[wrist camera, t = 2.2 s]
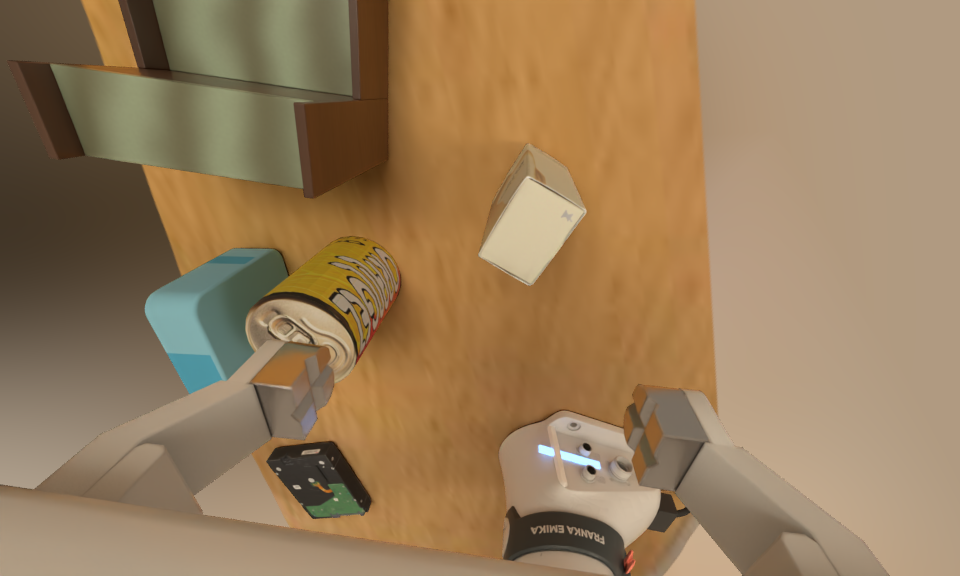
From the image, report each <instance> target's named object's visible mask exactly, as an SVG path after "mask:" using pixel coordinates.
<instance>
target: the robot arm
mask: <svg viewBox="0 0 960 576" xmlns="http://www.w3.org/2000/svg"><path fill="white" fill-rule="evenodd" d="M330 359H331V355H330V351H329V348H327V347H326V346H321V345H314V344H307V343H300V342H293V341H283V340H277V339H271V340H268V341H266V342H265V343H264V344H263V345H262V346H261V347H260V348H259V349H258V350H257V351H256V352H255V353H254V354H253V355H252V356H251V357H250V358H249V359H248V360H247V361H246V362H245V363H244V364H243V365H242V366H241V367H240V368H239V369H238V370H237V371H236V372H235V373H234V374H233V375H232V376H231V377H230V378H229V379H228V380H227V381H222V380H220V381H218V382H216V383H214V384H211V385H209V386H207V387H205V388H202V389H200V390H198V391H196V392H193V393H191V394H189V395H187V396H185V397H182V398H180V399H178V400H176V401H173V402H171V403H169V404H167V405H164V406H162V407H160V408H158V409H156V410H153V411H151V412H149V413H147V414H144V415H142V416H140V417H138V418H136V419H133V420H131V421H129V422H127V423H124V424H122V425H120V426H118V427H116V428H113V429H111V430H109V431H106V432H104V433H102V434H100V435H99V436H97V437H96V438H95V439H94V440H93V441H91V442H90V443H89V444H88V445H87V446H85V447H84V448H83V449H82V450H81V451H79V452H78V453H77V454H76V455H75V456H73V457H72V458H71V459H70V460H69V461H67V462H66V463H65V464H64V465H63V466H61V467H60V468H59V469H58V470H57V471H55V472H54V473H53V474H52V475H51V476H49V477H48V478H47V479H46V480H45V481H43V482H42V483H41V484H40V485H39V486H37V488H35V489H27V488H20V487H13V486H7V485H0V576H631V574H630V571H631V569H632V568H633V566H634V564H635V560H633V551H632V550H630V551H629V553H628V554H627V555H626V551H625V548H626V547H627V546H628V545H630V544H631V543H632V542H633V541H634V540H635V539H637V538H638V537H639V536H640V535H641V534H642V533H644V532H645V530H646V529H649V530H654V531H659V532H665V531H666V530H667V529H668V527H669V526H670V525H671V523H672V522H673V521H674V520H675V518H676V517H681V516H685V515H687V514H689V513H690V512H691V513H692V515H693V516H694V517H695V518H696V519H697V521H698V522H699V523H700V524H701V525H702V527H703V528H704V529H705V530H706V531H707V533H708V534H709V535H710V536H711V537H712V539H713V540H714V541H715V542H716V543H717V545H718V546H719V547H720V548H721V549H722V551H723V552H724V553H725V554H726V555H727V557H728V558H729V559H730V560H731V561H732V563H733V564H734V565H735V566H736V567H737V569H738V570H739V571H740V572H741V574H742V576H889V574H888V573H887V572H886V570H885V569H884V568H883V566H882V565H881V564H880V562H879V561H878V560H877V558H876V557H875V555H874V554H873V553H872V551H871V550H870V549H869V547H868V546H867V545H866V543H865V542H864V541H863V540H862V539H860V538H859V537H858V536H856V535H855V534H854V533H853V532H851V531H850V530H849V529H847V528H846V527H845V526H844V525H842V524H841V523H840V522H838V521H837V520H836V519H834V518H833V517H832V516H831V515H829V514H828V513H827V512H825V511H824V510H822V508H820V507H819V506H818V505H816V504H815V503H814V502H812V501H811V500H810V499H809V498H807V497H806V496H805V495H803V494H802V493H801V492H800V491H798V490H797V489H796V488H794V487H793V486H792V485H790V484H789V483H788V482H786V481H785V480H784V479H783V478H781V477H780V476H779V475H778V474H776V473H775V472H774V471H772V470H771V469H770V468H768V467H767V466H766V465H764V464H763V463H762V462H761V461H759V460H758V459H757V458H755V457H754V456H753V455H752V454H750V453H749V452H748V451H746V450H745V449H744V448H743V447H736V446H735V445H734V443H733V441H732V439H731V438H730V436H729V434H728V433H727V431H726V429H725V428H724V426H723V424H722V423H721V421H720V419H719V418H718V416H717V414H716V413H715V411H714V409H713V408H712V406H711V404H710V402H709V401H708V399H707V397H706V396H705V394H704V393H702V392H701V391H699V390H689V389H680V388H679V389H677V388H668V387H660V386H651V385H642V384H638V385H637V386H636V387H635V389H634V391H633V394H632V396H633V399H634V403H633V404H631V405H630V406H628V407H627V409H626V412H625V415H624V424H623V428H620V427H617V426H614V425H611V424H607V423H604V422H601V421H598V420H595V419H592V418H589V417H586V416H582V415H579V414H576V413H573V412H570V411H559V412H557V413H555V414H553V415H552V416H550V417H549V418H547V419H546V420H544V421H542V422H539V423H535V424H531V425H528V426H525V427H522V428H520V429H518V430H516V431H514V432H513V433H511V434H510V435H509V436H508V437H507V438H506V439H505V440H504V441H503V443H502V445H501V447H500V450H499V461H500V465H501V469H502V473H503V479H504V485H505V494H506V506H507V514H506V517H505V520H504V529H503V551H502V557H503V559H497V558H490V557H483V556H477V555H470V554H463V553H457V552H450V551H443V550H437V549H430V548H423V547H417V546H410V545H403V544H396V543H390V542H383V541H376V540H369V539H363V538H356V537H349V536H342V535H336V534H329V533H322V532H315V531H309V530H302V529H295V528H288V527H281V526H275V525H268V524H261V523H255V522H248V521H241V520H235V519H228V518H221V517H215V516H208V515H203V512H202V509H201V507H200V506H199V504H198V502H197V501H196V499H195V497H194V495H195V494H197V493H198V492H199V491H201V490H202V489H203V488H205V487H206V486H208V485H209V484H210V483H212V482H213V481H214V480H216V479H217V478H218V477H220V476H221V475H223V474H224V473H225V472H227V471H228V470H229V469H231V468H232V467H234V466H235V465H236V464H238V463H239V462H240V461H241V460H243V459H244V458H246V457H247V456H248V455H250V454H251V453H253V452H254V451H255V450H257V449H258V448H259V447H261V446H262V445H264V444H265V443H266V442H268V441H269V440H270V439H271V437H279V438H288V439H297V440H305V439H306V437H307V435H308V434H309V432H310V430H311V429H312V427H313V426H314V424H315V422H316V421H317V419H318V418H317V413H316V411H317V410H319V409H320V408H322V407H324V406H325V405H326V404H327V402H328V401H329V399H330V397H331V394H332V391H333V388H334V379H335V377H334V371H333V369H332V368H331V367H330V366H329V365H328V364H327V363H328V362H329V360H330ZM661 489H663V490H669V491H675V494H676V495H677V497H678V498H679V499H680V500H681V501H682V503H683V504H684V505H685V506H686V507H685V508H684V509H681V510H676V507H675V504H674V502H673V499H672V496H671V495H669V494H664V493H661Z"/></svg>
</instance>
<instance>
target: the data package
mask: <svg viewBox="0 0 960 576" xmlns="http://www.w3.org/2000/svg"><path fill="white" fill-rule="evenodd" d="M287 277H288V274H287V270H286V267H285V264H284V261H283V258H282V256H281V254H280V253H279V252H278V251H277V250H275V249H253V248H234V249H231V250H229V251H227V252H225V253H223V254H222V255H220V256H218V257H216V258H214V259H212V260H211V261H209V262H207V263H205V264H203V265H201V266H200V267H198V268H196V269H194V270H192V271H191V272H189V273H187V274H185V275H183V276H181V277H180V278H178V279H176V280H174V281H172V282H170V283H169V284H167V285H165V286H163V287H161V288H160V289H158V290H156V291H154V292H153V293H152V294H151V295H150V296H149V298H148V299H147V301H146V305H145V314H146V317H147V319H148V320H149V322H150V324H151V326H152V328H153V329H154V331H155V333H156V335H157V336H158V338H159V340H160V342H161V344H162V346H163V347H164V349H165V351H166V352H167V354H168V356H169V358H170V360H171V362H172V363H173V365H174V367H175V369H176V371H177V372H178V374H179V376H180V378H181V379H182V381H183V383H184V385H185V387H186V388H187V390H188V392H189V394H191V393H193V392H196V391H198V390H200V389H202V388H205V387H207V386H209V385H211V384H214V383H216V382H218V381H220V380H222V381H227V380H228V379H229V378H230V377H231V376H232V375H233V374H234V373H235V372H236V371H237V370H238V369H239V368H240V367H241V366H242V365H243V364H244V363H245V362H246V361H247V360H248V359H249V358H250V357H251V356H252V355H253V354H254V353H255V352H254V350H253V349H252V347H251V345H250V343H249V342H248V338H247V334H246V331H245V325H246V317H247V315H248V312H249V310H250V308H251V307H252V306H253V305H254V304H256V303H257V302H258V301H259V300H260V299H261V298H262V297H264V296H265V295H266V294H267V293H269V292H270V291H271V290H272V289H274V288H275V287H276V286H277V285H279V284H280V283H281V282H282V281H284V280H285V279H286V278H287Z"/></svg>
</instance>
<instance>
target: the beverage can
mask: <svg viewBox="0 0 960 576" xmlns="http://www.w3.org/2000/svg"><path fill="white" fill-rule="evenodd" d="M400 287H401V275H400V272H399V269H398V266H397V264H396V262H395V261H394V259H393V258H392V256H391V255H390V254H389V253H388V252H387V251H386V250H385V249H384V248H383V247H381V246H380V245H378V244H377V243H375V242H373V241H371V240H368V239H365V238H362V237H354V236H350V237H342V238H339V239H337V240H335V241H333V242H331V243H330V244H329V245H327V246H326V247H325V248H324V249H322V250H321V251H320V252H319V253H317V254H316V255H315V256H314V257H312V258H311V259H310V260H309V261H307V262H306V263H305V264H304V265H302V266H301V267H300V268H299V269H297V270H296V271H295V272H294V273H292V274H291V275H290V276H289V277H287V278H286V279H285V280H284V281H282V282H281V283H280V284H279V285H277V286H276V287H275V288H274V289H272V290H271V291H270V292H269V293H267V294H266V295H265V296H264V297H262V298H261V299H260V300H259V301H258V302H257V303H256V304H254V305H253V306H252V307H251V308H250V310H249V312H248V315H247V317H246V325H245V331H246V334H247V338H248V342H249V343H250V345H251V347H252V349H253V350H254V352H256V351H257V350H258V349H259V348H260V347H261V346H262V345H263V344H264V343H265V342H266V341H268V340H271V339H277V340H283V341H293V342H300V343H307V344H314V345H321V346H326V347H327V348H329V351H330V355H331V359H330V360H329V362H328V363H327V364H328V365H329V366H330V367H331V368H332V369H333V371H334V377H335V379H334V383H337V382H340V381H341V380H343V379H344V378H346V377H347V376H348V375H349V374H350V373H351V371H352V370H353V368H354V367H355V365H356V363H357V362H358V360H359V358H360V357H361V355H362V354H363V352H364V350H365V349H366V347H367V345H368V344H369V342H370V340H371V339H372V337H373V335H374V334H375V332H376V330H377V329H378V327H379V325H380V324H381V322H382V320H383V319H384V317H385V315H386V314H387V312H388V311H389V309H390V307H391V306H392V304H393V302H394V301H395V299H396V297H397V296H398V294H399V290H400Z"/></svg>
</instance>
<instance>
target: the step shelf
mask: <svg viewBox="0 0 960 576" xmlns="http://www.w3.org/2000/svg"><path fill="white" fill-rule="evenodd" d="M118 1H119V4H120V8H121V11H122V15H123V18H124V21H125V25H126V28H127V32H128V35H129V38H130V42H131V45H132V49H133V52H134V56H135V59H136V62H137V66H138V67H139V68H133V67H116V66H98V65H81V64H80V65H79V64H64V63H45V62H29V61H12V60H7V63H8V65H9V67H10V69H11V72H12V74H13V76H14V79H15V80H16V83H17V85H18V88H19V90H20V92H21V94H22V97H23V99H24V101H25V103H26V106H27V108H28V110H29V112H30V115H31V117H32V119H33V122H34V124H35V126H36V128H37V131H38V133H39V135H40V137H41V140H42V142H43V144H44V146H45V149H46V151H47V153H48V155H49V158H53V159H66V158H73V157H79V156H85V155H86V156H92V157H98V158H105V159H112V160H118V161H124V162H131V163H138V164H144V165H150V166H157V167H163V168H170V169H176V170H183V171H189V172H196V173H202V174H209V175H216V176H222V177H229V178H235V179H242V180H248V181H255V182H261V183H268V184H274V185H281V186H287V187H294V188H300V189H303V191H304V197H306V198H316V197H318V196H319V195H321V194H323V193H325V192H327V191H329V190H331V189H333V188H335V187H337V186H339V185H341V184H342V183H344V182H346V181H348V180H350V179H352V178H354V177H356V176H358V175H360V174H362V173H364V172H365V171H367V170H369V169H371V168H373V167H375V166H377V165H379V164H381V163H383V162H385V161H387V160H388V0H118Z"/></svg>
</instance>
